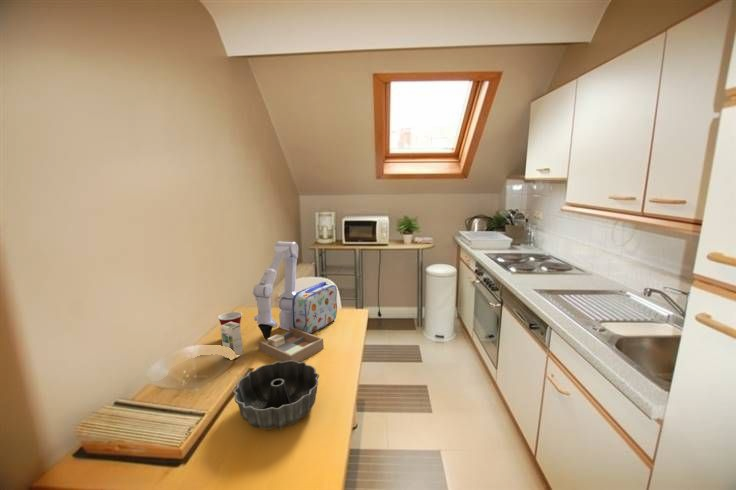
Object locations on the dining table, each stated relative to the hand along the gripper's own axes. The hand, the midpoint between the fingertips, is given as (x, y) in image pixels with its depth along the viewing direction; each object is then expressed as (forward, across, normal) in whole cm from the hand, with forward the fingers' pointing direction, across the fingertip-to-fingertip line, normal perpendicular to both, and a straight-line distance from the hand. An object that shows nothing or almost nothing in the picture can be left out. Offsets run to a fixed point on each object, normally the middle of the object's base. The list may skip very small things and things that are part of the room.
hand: (267, 338), depth 151 cm
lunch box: (+3, +4, +27) cm, 28 cm away
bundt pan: (+4, +40, -24) cm, 47 cm away
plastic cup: (+3, -20, -6) cm, 21 cm away
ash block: (+1, +7, 0) cm, 7 cm away
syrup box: (+3, -4, -14) cm, 15 cm away
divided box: (+3, +12, +4) cm, 13 cm away
